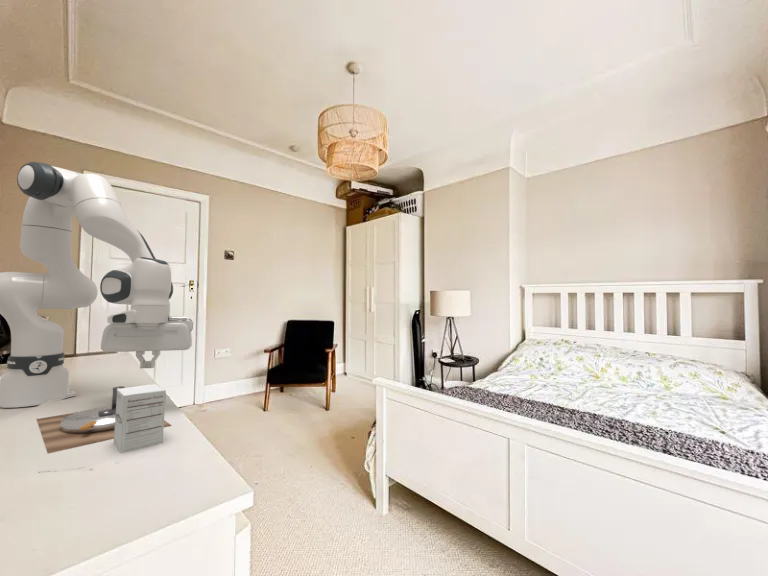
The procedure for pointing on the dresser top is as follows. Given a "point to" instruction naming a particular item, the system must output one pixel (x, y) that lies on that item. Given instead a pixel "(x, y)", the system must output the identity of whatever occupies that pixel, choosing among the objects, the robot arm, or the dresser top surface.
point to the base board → (69, 435)
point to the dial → (92, 418)
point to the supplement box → (139, 417)
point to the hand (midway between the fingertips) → (147, 368)
